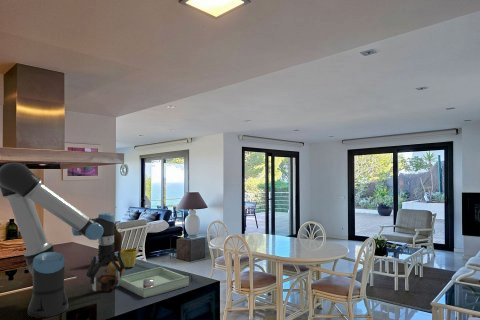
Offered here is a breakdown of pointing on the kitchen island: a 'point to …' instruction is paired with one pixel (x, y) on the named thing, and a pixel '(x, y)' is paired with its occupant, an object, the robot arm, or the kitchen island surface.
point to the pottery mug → (107, 282)
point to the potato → (113, 269)
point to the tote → (162, 282)
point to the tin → (148, 283)
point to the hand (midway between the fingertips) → (106, 287)
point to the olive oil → (117, 242)
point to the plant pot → (129, 257)
